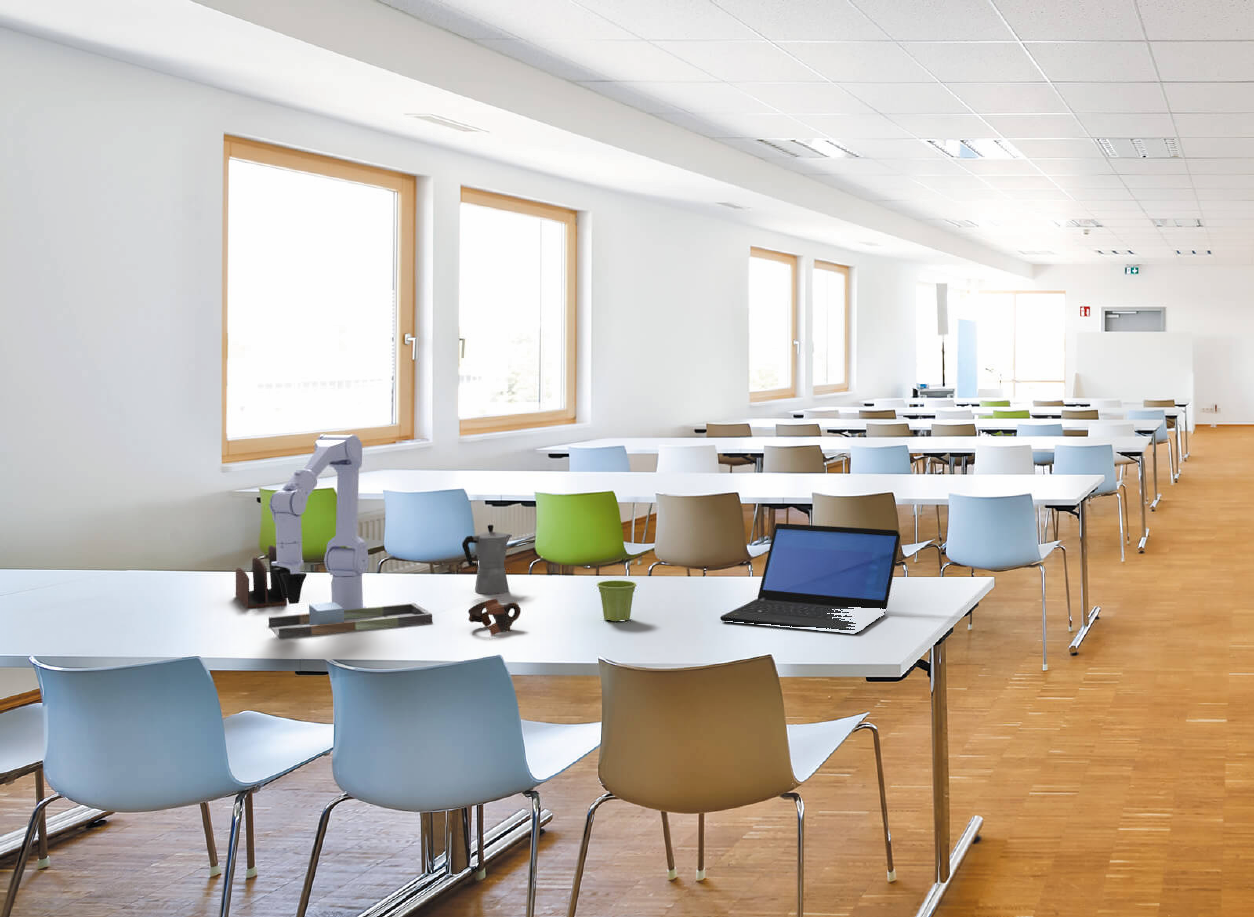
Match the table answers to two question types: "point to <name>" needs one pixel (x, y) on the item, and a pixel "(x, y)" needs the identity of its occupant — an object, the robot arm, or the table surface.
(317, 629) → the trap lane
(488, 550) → the coffeepot
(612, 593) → the plant pot
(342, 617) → the blue block
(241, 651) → the table surface
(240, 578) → the letter holder
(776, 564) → the laptop
